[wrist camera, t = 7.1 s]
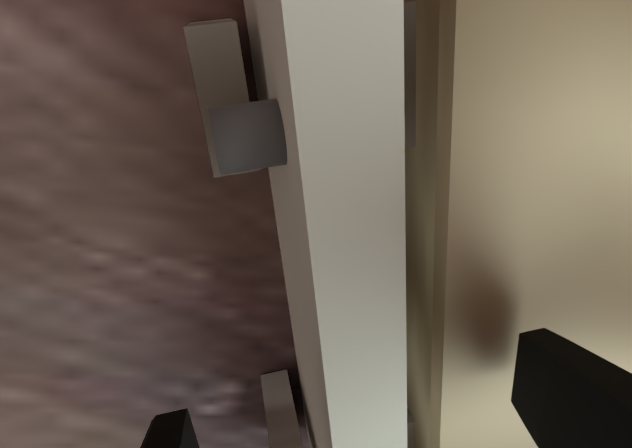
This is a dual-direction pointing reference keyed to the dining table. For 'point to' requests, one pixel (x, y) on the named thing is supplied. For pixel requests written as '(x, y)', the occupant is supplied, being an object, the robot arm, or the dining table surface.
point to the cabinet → (491, 199)
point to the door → (333, 202)
